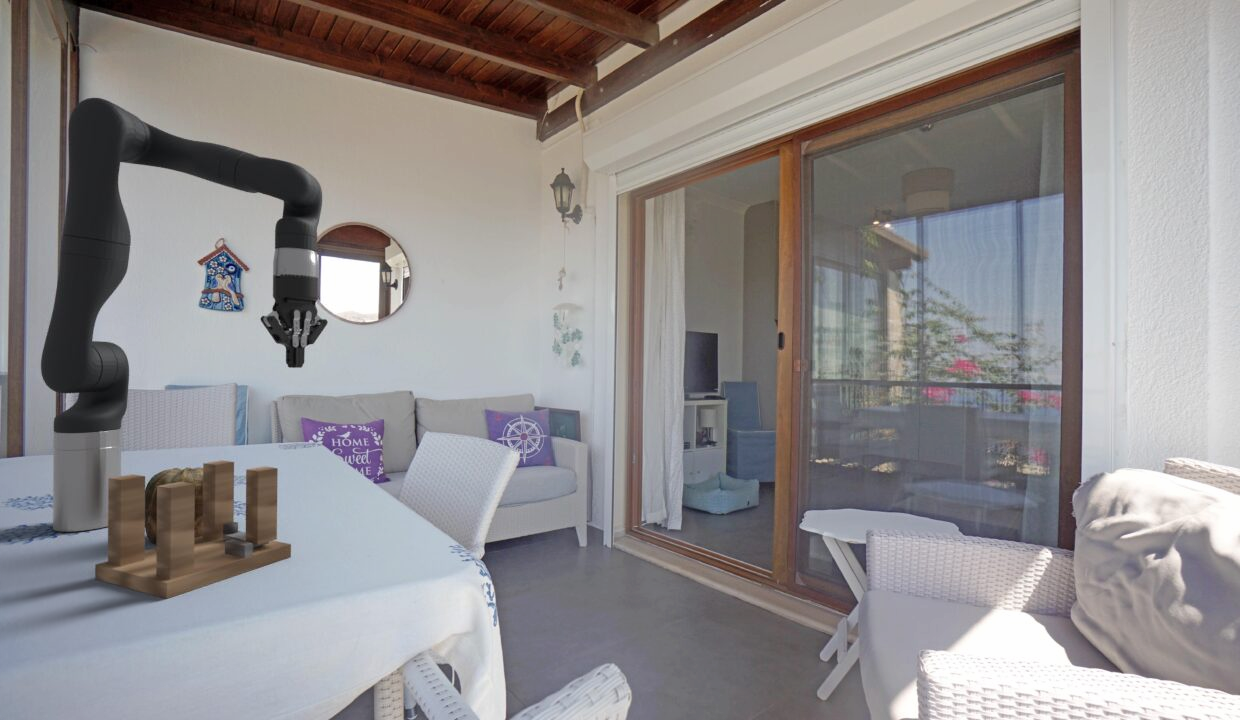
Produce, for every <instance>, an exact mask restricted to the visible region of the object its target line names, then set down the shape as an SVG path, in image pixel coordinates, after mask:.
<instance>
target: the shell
mask: <svg viewBox="0 0 1240 720" xmlns="http://www.w3.org/2000/svg"><path fill="white" fill-rule="evenodd" d="M177 482H185V483H192V484H195V523H194V538H198V537H202V536H203V467H198V466H197V467H195V468H191V467H185V468H183V469H181V468H179V467H175V468H170V469H166V470H165V469H164V470H162V471H159V472H158V473H156V474H154V475H153V476H152V477H151V478H150V479H149V480H148V482H147V484H146V485H145V535H146V537H147V539H148V540H149V541H150V543H152V544H156V545H157V486H160V485H166V484H171V483H177Z"/></svg>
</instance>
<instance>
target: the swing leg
mask: <svg viewBox="0 0 1240 720" xmlns="http://www.w3.org/2000/svg"><path fill="white" fill-rule="evenodd" d="M278 469H279V468H278V467H273V466H272V467H271V466H267V465H266V466H265V465H264V466H260V467H259V466H258V467H252V468H246V469H245V473H246V474H245V475H246V476H245V531H242V530H239V522H238V521H234V522H229V523H225V524H223V540H226V541H229V540H232V539H234V540H239V541H244V542H249V543H253V548H255V547H258V546H262V545H265V544H269V541H277V540H278V539H277V538H278V475H279V473H278V471H279V470H278Z"/></svg>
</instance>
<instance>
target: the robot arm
mask: <svg viewBox="0 0 1240 720" xmlns="http://www.w3.org/2000/svg"><path fill="white" fill-rule="evenodd" d="M67 129H68V134H67V135H68V137H67V138H68V182H67V183H68V185H67V195H66V202H65V203H66V205H65V217H64V222H63V223H64V224H63V227H62V228H63V229H62V236H61V241H60V242H61V244H60V245H61V246H60V252H59V267H58V268H59V269H58V276H57V282H56V283H57V285H56V288H55V289H56V290H55V294H54V296H55V297H54V303H53V308H52V313H51V317H50V322H49V323H48V324H49V325H48V327H47V328H48V329H47V333H46V335H45V341H44V344H43V348H42V353H41V359H40V373H41V377H42V379H43V380H42V381H43V382H44V384H45V385H46V387H48V388H49V389H50V390H51V391H53V392H56V393H58V394H59V393H60V394H78V396H77V400H76V401H75V403H74V404H73V405H72V406H71V407H69V408H68V409H66V410H64V411H62V412H60V413H58V414H57V415H55V417H54V418H53V445H52V446H53V470H52V471H53V478H52V479H53V481H52V487H53V488H52V503H53V504H52V530H54V531H56V532H66V533H67V532H82V531H90V530H91V531H92V530H97V529H101V528H105V527H108V478H112V477H118V476H122V421H123V417H124V416H125V414H126V412H127V408H128V396H129V386H130V385H129V383H130V366H129V360H128V357H127V356H128V355H127V354H126V352H125V351H124V349H123V348H122V347H121V346H119V345H118V344H116V343H115V342H112V341H111V342H110V341H100V340H99V341H98V340H97V341H96V340H95V341H94V340H93V339H94V331H95V326H96V321H97V319H98V315H99V314H100V311H101V309H102V307H104V305H105V303H106V302H107V301H108V299H110V298H111V296H112V295H113V293H114V292H115V291H116V290H117V288H118V287H119V286H120V285H121V283H122V281H123V280H124V278H125V277H126V274H127V272H128V268H129V260H130V252H131V242H132V241H131V230H130V224H129V221H128V220H129V219H128V218H127V214H126V212H125V207H124V205H123V202H122V199H121V195H120V194H121V193H120V188H119V186H120V185H119V176H120V168H121V163H125V164H132V165H133V164H134V165H139V166H141V165H142V166H148V167H155V168H160V169H161V168H162V169H166V170H172V171H174V172H175V171H176V172H180V173H183V174H187V175H191V176H193V177H196V178H200V179H202V180H206V181H207V182H208V181H209V182H212V183H214V184H217V185H218V184H219V185H221V186H224V187H228V188H231V189H235V190H238V191H242V192H244V193H249V194H250V193H251V194H258V193H259V194H262V195H266V196H269V197H273V198H275V199H278V200H281V201H282V202H283V207H282V209H283V210H282V218H280V219H278V220H277V221H276V224H275V229H274V253H273V254H274V255H273V261H272V298H273V299H274V303H273V305H272V308H271V309H272V311H271V312H270V313H268V314H267V315H262V316H261V317H260V322H261V323H262V325H263V326H264V327H265V329H266V330H267V332H268V333H269V335H270V336H271V337H272V339H273V340H274V342H275V343H276V344H277V345H278V344H279V345H283V346H284V347H285V363H286V365H287V367H288V368H293V369H296V368H297V369H298V368H303V365H304V364H305V355H306V354H305V353H306V352H305V349H306V347H307V346H309V345H314V344H315V343H316V341H317V340H318V339H319V337H320V335H321V334H322V332H323V331H324V330H325V328H326V327H327V325H328V319H326V318H325V319H323V318H321V316H319V314H318V313H319V312H318V309H317V306H316V303H317V302H318V299H319V260H318V226H319V222H320V218H321V212H322V207H323V190H322V186H321V184H320V182H319V181H318V180H317V178H316V177H314V175H312V174H311V173H310V172H308V170H306V169H305V168H304V167H302V166H300V165H298V164H295V163H292V162H289V161H286V160H282V159H281V160H280V159H277V158H271V157H263V156H258V155H256V154H253V153H249V152H246V151H243V150H239V149H237V148H233V147H230V146H227V145H224V144H218V143H213V142H208V141H207V142H206V141H199V140H198V141H197V140H192V139H187V138H184V137H180V136H177V135H175V134H172V133H169V132H166V131H164V130H162V129H160V128H158V127H156V126H153V125H151V124H149V123H147V122H145V121H143V120H141V119H140V118H139V117H138V116H136V115H135V114H134V113H132V112H130V111H128V110H126V109H124V108H123V107H121V106H119V105H118V104H115V103H113V102H111V101H109V100H107V99H105V98H101V97H89V98H86V99H83V100H82V101H80V102H78V103H77V104H76V105H75V107H74V108H73V110H72V112H71V114H70V117H69V121H68V128H67Z"/></svg>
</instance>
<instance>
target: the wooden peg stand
mask: <svg viewBox="0 0 1240 720" xmlns="http://www.w3.org/2000/svg"><path fill="white" fill-rule="evenodd" d="M202 466H203V467H202V468H203V536H202V537H198V538H194V523H195V484H192V483H185V482H177V483H171V484H166V485H160V486H157V544H156V547H155V548H152V549H148V550H145V547H146V544H145V543H146V531H145V489H146V476H145V475H139V474H134V473H133V474H132V473H131V474H127V475H126V474H125V475H121V476H118V477H112V478H108V526H107V561H103V562H99V563H96V564H94V565H95V567H94V572H95V573H94V579H95V580H98V579H99V580H98V581H102V582H105V583H110V584H113V585H117V586H120V587H124V588H127V589H131V590H134V591H138V592H141V593H145V594H148V595H152V596H155V597H160V598H163V599H166V600H167V599H170V598H173V597H176V596H179V595H182V594H186V593H187V592H191V591H194V590H196V589H199V588H202V587H206V586H208V585H212V584H214V583H218V582H220V581H223V580H226V579H229V578H232V577H236V576H238V575H241V573H242V574H244V573H247V571H248V572H251V571H254V570H257V569H260V568H262V567H265V566H268V565H271V564H274V563H277V562H280V561H283V560H286V559H288V558H291V557H292V544H291V543H286V542H282V541H277V540H273V541H269V544H265V545H262V546H258V547H255V548H253V543H249V542H244V541H239V540H234V539H232V540H229V541H226V540H223V524H225V523H229V522H235V521H234V519H235V517H234V516H235V515H234V514H235V511H234V509H235V507H234V505H235V504H234V503H235V495H234V494H235V462H234V461H229V460H221V459H220V460H215V461H211V462H210V461H209V462H204V463H203V465H202ZM253 569H254V570H253Z"/></svg>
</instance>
